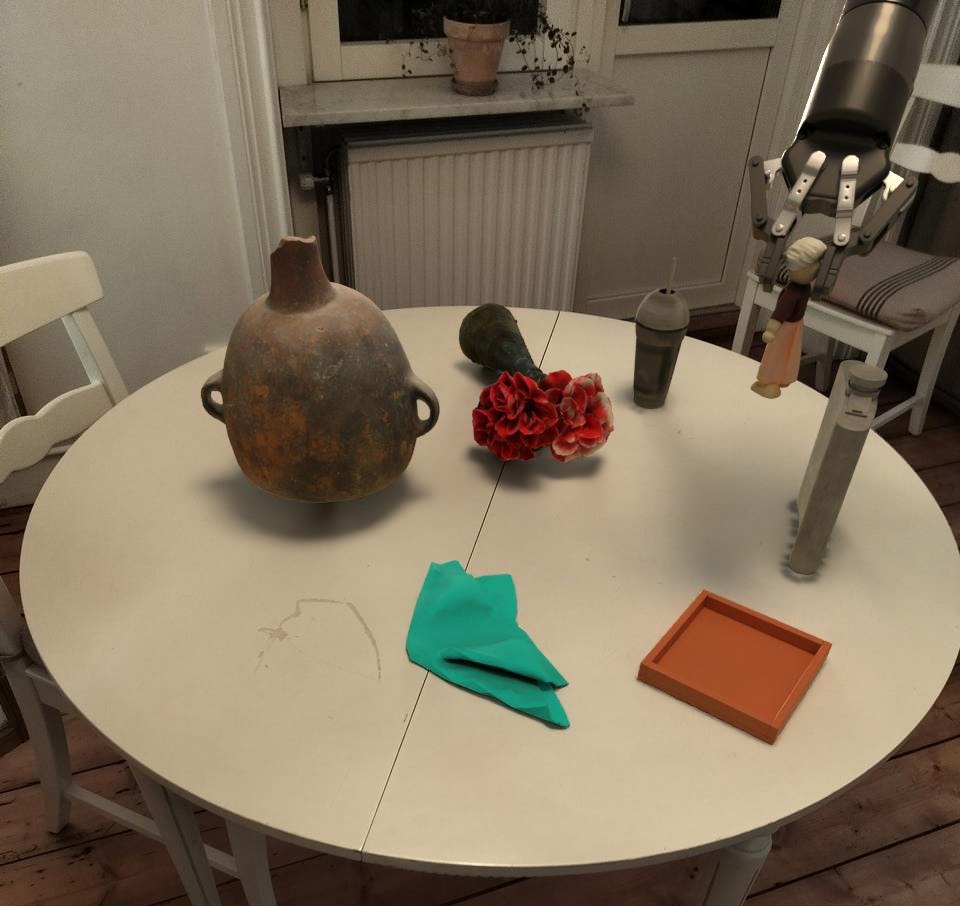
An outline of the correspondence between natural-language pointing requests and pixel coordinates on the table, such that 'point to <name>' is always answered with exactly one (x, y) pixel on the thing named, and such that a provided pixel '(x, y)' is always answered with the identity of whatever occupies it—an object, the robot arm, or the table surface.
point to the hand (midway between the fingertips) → (791, 291)
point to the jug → (317, 387)
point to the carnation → (530, 395)
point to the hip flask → (834, 459)
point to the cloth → (482, 641)
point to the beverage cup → (658, 343)
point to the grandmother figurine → (789, 319)
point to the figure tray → (735, 664)
